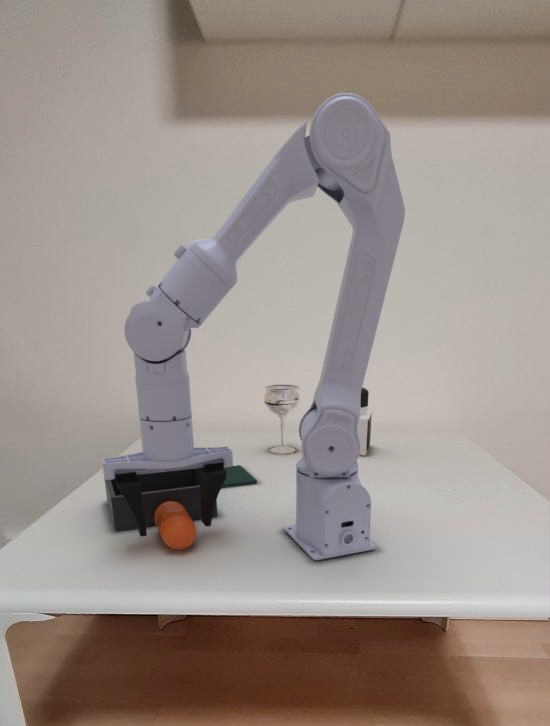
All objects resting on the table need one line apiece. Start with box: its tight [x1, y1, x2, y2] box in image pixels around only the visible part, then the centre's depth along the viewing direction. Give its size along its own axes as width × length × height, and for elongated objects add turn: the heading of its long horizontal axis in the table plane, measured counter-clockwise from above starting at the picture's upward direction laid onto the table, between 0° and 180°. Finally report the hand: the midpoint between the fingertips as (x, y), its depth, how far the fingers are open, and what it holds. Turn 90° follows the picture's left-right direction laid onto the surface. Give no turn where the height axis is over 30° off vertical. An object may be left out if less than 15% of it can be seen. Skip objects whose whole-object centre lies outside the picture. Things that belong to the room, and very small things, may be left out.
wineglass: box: [263, 384, 301, 455], centre depth 103 cm, size 7×7×12 cm
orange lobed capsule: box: [155, 501, 198, 551], centre depth 65 cm, size 9×4×4 cm, turn 23°
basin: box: [103, 468, 218, 532], centre depth 75 cm, size 11×13×4 cm
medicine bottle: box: [357, 386, 373, 457], centre depth 103 cm, size 7×7×12 cm
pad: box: [221, 464, 258, 489], centre depth 88 cm, size 9×10×1 cm
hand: (175, 528), depth 66 cm, fingers open, 7 cm apart
